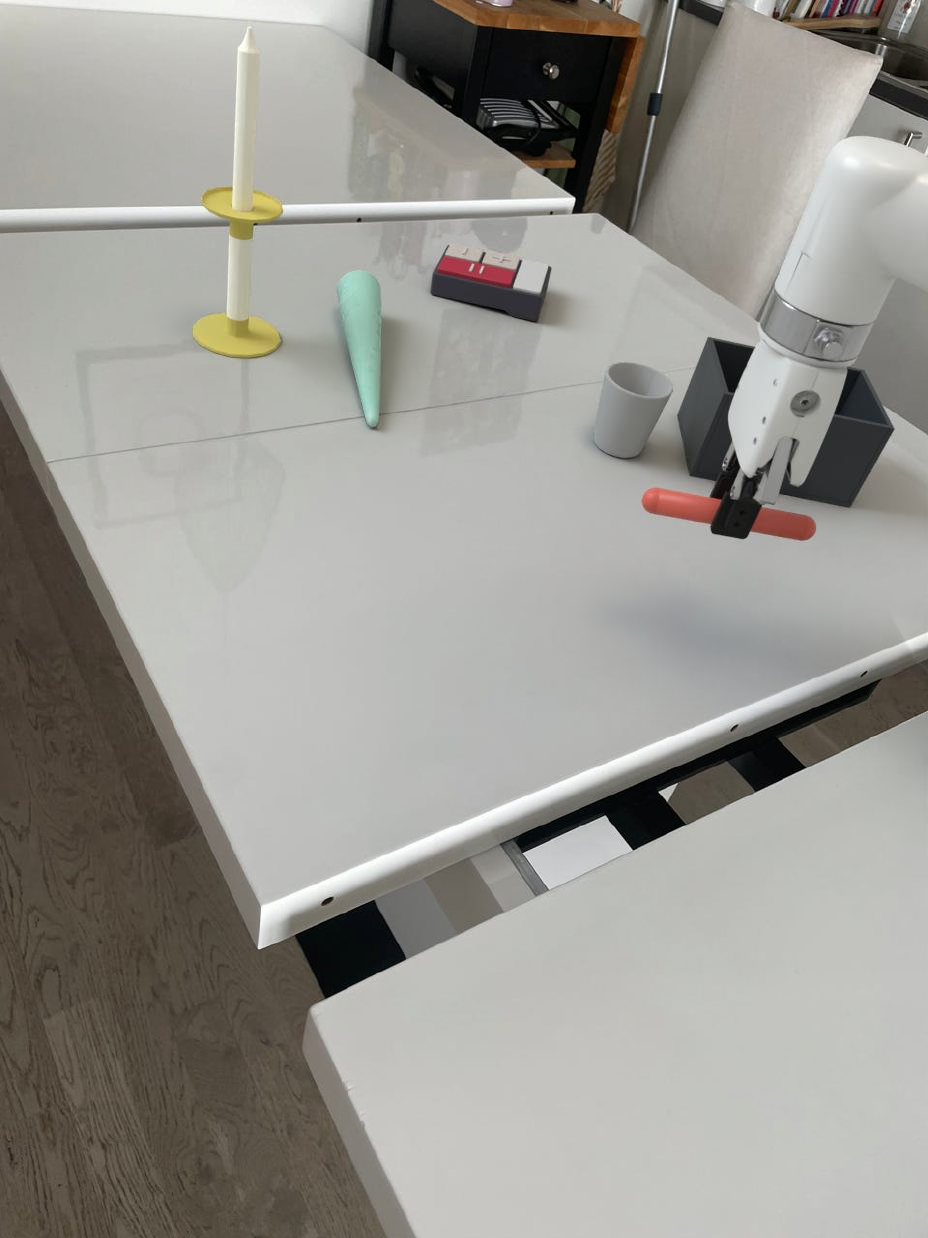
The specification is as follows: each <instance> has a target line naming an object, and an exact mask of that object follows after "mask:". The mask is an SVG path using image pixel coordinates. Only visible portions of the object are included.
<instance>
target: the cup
mask: <svg viewBox="0 0 928 1238" xmlns="http://www.w3.org/2000/svg"><path fill="white" fill-rule="evenodd" d="M673 392H674V387H673V384H672V381H671V380H670V379H669V378H668V377H667V376H666V375H665V374H663V373H662V372H661V371H659V370H657V369H656V368H653V367H651V366H648V365H645V364H643V363H638V362H632V361H617V362H614V363H612V364H610V365H608V367H607V368H606V370H605V373H604V377H603V381H602V388H601V391H600V395H599V396H600V397H599V400H598V407H597V412H596V419H595V425H594V431H593V438H592V439H593V442H594V444H595V446H597V447H598V449H600V450H601V451H602V452H604V453H606V454H607V455H610V456H613V457H615V458H621V459H629V458H634V457H637V456H638V455H640V454H641V452H642V450H643V448H644V447H645V445H646V443H647V441H648V440H649V438H650V436H651V434H652V433H653V431H654V429H655V427H656V426H657V423H658V422H659V420H660V417H661V416H662V413H663V411H664V410H665V408H666V406H667V403H668V402H669V400H670V398H671V396H672V393H673Z"/></svg>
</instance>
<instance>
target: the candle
mask: <svg viewBox="0 0 928 1238" xmlns="http://www.w3.org/2000/svg"><path fill="white" fill-rule="evenodd" d="M248 24H249V25H248V26H247V28H246V32H245V36H244V38H243V40H242V42H241V44H240V45H239V46H238V47H237V58H236V85H235V86H236V87H235V113H234V114H235V115H234V118H235V119H234V138H233V139H234V141H233V142H234V144H233V167H232V169H233V170H232V171H233V172H232V186H217V187H213V188H210V189H207V190H205V191H204V192H203V193H202V194H201V195H200V199H201V205H202V206H203V208H205V209H206V210H207V211H208V212H209V213H210V214H213V215H215V216H217V217H219V218H221V219H224V220H228V221H229V235H228V264H227V290H226V291H227V292H226V312H219V313H212V314H209V315H206V316H204V317H201V318H199V319H198V320H197V321H196V323H195V324H194V325H192V337H193V339H194V340H195V341H196V342H197V343H198V344H199V345H200V346H201V347H203V348H204V349H206V350H208V351H210V352H212V353H214V354H218V355H222V356H226V357H230V358H242V359H250V358H257V357H258V358H259V357H265V356H267V355H268V354H271V353H273V352H275V351H276V350H277V349H278V348H279V346H280V344H281V342H282V341H281V337H280V332H279V331H278V330H277V328H275V327H274V326H273V324H271V323H269V322H268V321H265V320H263V319H262V318H259V317H257V316H252V315H250V302H251V283H252V265H253V264H252V263H253V243H254V225H255V224H264V223H271V222H273V221H276V220H278V219H279V218H280V217H281V216H282V215H283V213H284V207H283V204H282V203H281V202H280V201H279V200H278V199H277V198H276V197H274V196H273V195H272V196H271V195H269V194H267V193H266V192H263V191H260V190H257V189H255V187H254V185H255V166H256V165H255V164H256V144H257V129H258V128H257V124H258V105H259V85H260V65H261V64H260V63H261V51H260V49H259V48H258V46H257V44H256V40H255V37H254V31H253V27H252V26H251V25H252V20H251V19H249V23H248Z"/></svg>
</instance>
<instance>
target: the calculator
mask: <svg viewBox="0 0 928 1238" xmlns="http://www.w3.org/2000/svg"><path fill="white" fill-rule="evenodd" d="M551 275H552V266H550V265H549V264H548V263H544V262H539V261H535V260H529V259H525V258H524V259H521V257H520V256H517V255H514V254H508V253H503V252H499V251H496V250H495V251H494V250H489V249H488V250H486V251H484V249H483V248H480V247H476V246H471V245H466V244H462V243H457V242H450V244H447V246H446V247H445V249H444V251H443V252H442V254H441V257H440V259H439V261H438V263H437V264H436V266H435V268H434V269H433V271H432V275H431V282H430V291H429V292H430V294H431V296H432V295H433V296H437V297H441V298H446V299H451V300H456V301H460V302H464V303H469V304H474V305H478V306H483V307H487V308H492V309H497V310H501V311H505V312H506V313H507V314H508V315H509V316H511V317H514V318H517V319H523V320H527V321H532V322H538V321H539V319H540V316H541V313H542V310H543V307H544V302H545V299H546V296H547V292H548V289H549V284H550V278H551Z"/></svg>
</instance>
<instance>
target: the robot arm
mask: <svg viewBox="0 0 928 1238" xmlns="http://www.w3.org/2000/svg"><path fill="white" fill-rule="evenodd" d="M896 279H897V280H899V281H902V282H903V283H905V284H908V285H910V286H912V287H914V288H916V289H918V290H920V291H923V293H926V294H928V156H927V155H926V154H924V153H923V152H921V151H919V150H918V149H916V148H913V147H911V146H908V145H905V144H903V143H900V142H896V141H893V140H890V139H886V138H881V137H876V136H869V135H856V136H854V135H853V136H849V137H846V138H844V139H841V140H840V141H838V142H836V144H834V145H833V147H832V148H831V149H830V151H829V152H828V154H827V155H826V158H825V159H824V162H823V164H822V166H821V168H820V171H819V173H818V176H817V178H816V180H815V182H814V186H813V188H812V191H811V193H810V196H809V198H808V200H807V203H806V205H805V208H804V210H803V213H802V214H801V218H800V220H799V223H798V225H797V228H796V230H795V232H794V235H793V237H792V240H791V243H790V245H789V247H788V250H787V252H786V255H785V257H784V260H783V262H782V265H781V267H780V270H779V272H778V275H777V277H776V279H775V282H774V285H773V287H772V289H771V292H770V293H769V296H768V299H767V302H766V304H765V307H764V309H763V311H762V313H761V317H760V319H759V321H758V322H757V323H758V324H757V326H756V332H757V335H758V337H759V338H758V341H757V343H756V344H755V346H754V347H755V349H754V351H753V353H752V355H751V357H750V359H749V362H748V364H747V366H746V368H745V370H744V373H743V375H742V377H741V380H740V382H739V384H738V387H737V389H736V392H735V394H734V397H733V400H732V403H731V406H730V409H729V413H728V424H729V429H730V433H731V437H732V441H731V445H730V447H729V449H728V452H727V454H726V456H725V458H724V461H723V470H725V471H727V472H722V471H720V474H719V476H718V478H717V481H715V483H714V484H713V485H714V486H713V487H712V490H711V492H710V495H709V497H710V498H715V499H721V500H722V501H721V503H720V505H719V507H718V510H717V512H716V514H715V517H714V519H713V521H712V524H710V526H709V528H710V533H711V534H713V535H717V536H721V537H727V538H733V539H738V540H745V539H747V538H748V537H749V535H750V533H751V532H750V531H751V529H752V527H753V524H754V522H755V520H756V518H757V516H758V514H759V512H760V510H761V507H763V506H765V505H770V506H771V505H772V506H775V505H776V504H777V501H778V498H779V494H780V493H779V492H780V488H781V485H782V481H783V478H784V474H785V471H786V473H787V476H788V479H789V481H790V484H792V485H793V486H797V487H798V486H800V485H802V484H803V482H804V481H805V479H806V477H807V475H808V473H809V471H810V469H811V467H812V464H813V462H814V460H815V458H816V456H817V453H818V451H819V449H820V446H821V444H822V442H823V439H824V437H825V435H826V432H827V430H828V427H829V425H830V423H831V420H832V418H833V415H834V412H835V410H836V407H837V404H838V401H839V398H840V395H841V392H842V389H843V386H844V382H845V379H846V375H847V367H851V366H853V364H855V362H857V361H856V360H857V359H858V357H859V354H860V353H861V350H862V349H863V347H864V344H865V342H866V341H867V338H868V336H869V334H870V332H871V330H872V328H873V327H874V324H875V322H876V320H877V318H878V316H879V314H880V311H881V309H882V307H883V305H884V303H885V302H886V299H887V297H888V295H889V293H890V291H891V289H892V287H893V285H894V283H895V281H896ZM755 477H758V478H762V479H761V482H760V483H758V479H757V478H755Z"/></svg>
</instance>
